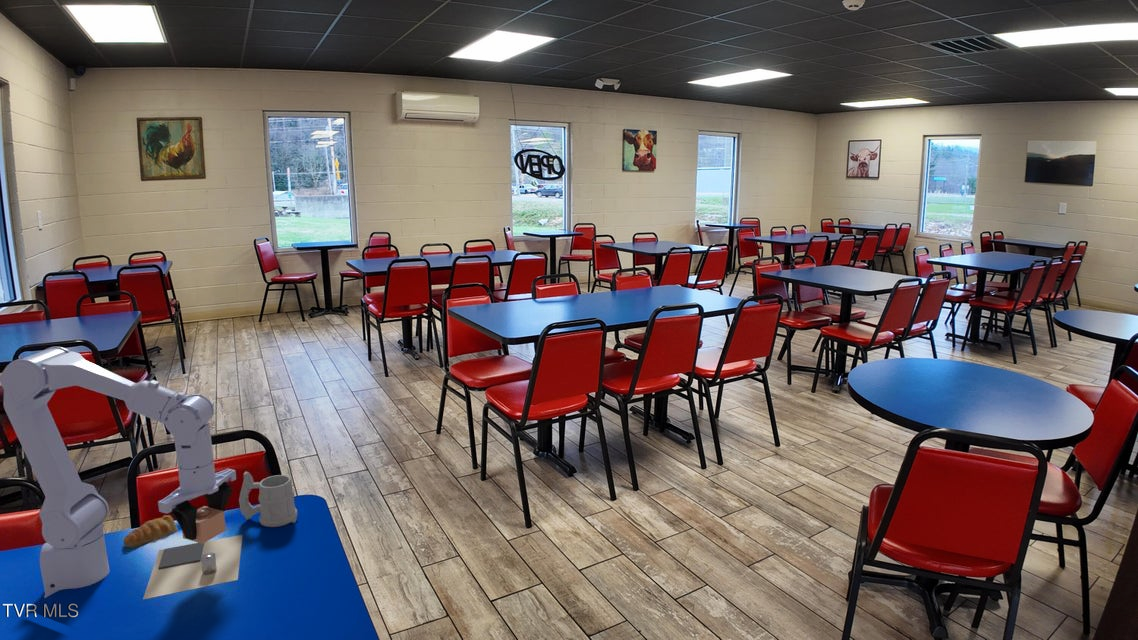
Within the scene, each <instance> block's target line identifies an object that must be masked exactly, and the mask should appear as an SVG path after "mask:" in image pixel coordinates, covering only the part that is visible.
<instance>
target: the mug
mask: <svg viewBox="0 0 1138 640" xmlns="http://www.w3.org/2000/svg"><path fill="white" fill-rule="evenodd" d="M253 489H259V490H258V491H259V493H258V494H259V495H258V502H259V504H256V505H255V506H254V505H252V504H251V502H249V495H250V492H251V491H252V490H253ZM294 496H295V490H294V488H293V483H292V479H291V476H289V475H286V474H277V475H271V476H267V477H266V478H263V479H262V480H261V481H260V482H259V481H256V482H255V481H254V477H253V476H252V474H251V473H250V472H249V471H244V473H243V482H242V485H241V489H240V493H239V499H238V502H239V507H240V508H239V509H240V512H241V514H242V516H244V518H245V520H250V519H251V518H252V517H253V516H255V515H256V514H259V513H260V515H259V517H258V520H259V523H260V525H262V526H264V527H267V528H278V527H283V526H286V525H288V524H290V523H296V522H297V517H298V509H297V508H296V505H295V498H294Z"/></svg>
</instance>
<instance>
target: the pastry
mask: <svg viewBox="0 0 1138 640" xmlns="http://www.w3.org/2000/svg"><path fill="white" fill-rule="evenodd" d="M174 520H175V519H174V517H173V516H172V515H171V514H168V515H166V514H164V515H162V517H159V518H153V519H151V520H148V521H145V522H144V523H143V524H142V525H140V526H138V527H137V528H134V529H133V530H131V531H130V532H129V533H128V534H125V537H124V538H123V546H124V547H126V548H131V549H137V548H141V547H144V546H146V545H147V544H150V543H152V542H153V541H156V540H158V539H161V538H163V537H165V536H169V535H172V534H173V533H174V534H175V533H177V532H178V531H179V529H178V526H177V524H176V522H175V521H174Z"/></svg>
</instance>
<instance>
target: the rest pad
mask: <svg viewBox="0 0 1138 640" xmlns="http://www.w3.org/2000/svg"><path fill="white" fill-rule="evenodd" d="M203 546H204V543H203V544H202V543H198V542H195V543H190V544H185V545H179V546H173V547H168V548H164V551H163V554H162V558H161V561H160V564H159V567H158V569H162V568H167V567H172V566H178V565H183V564H188V563H193V562H198V561H201V556H202V551H203Z"/></svg>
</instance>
